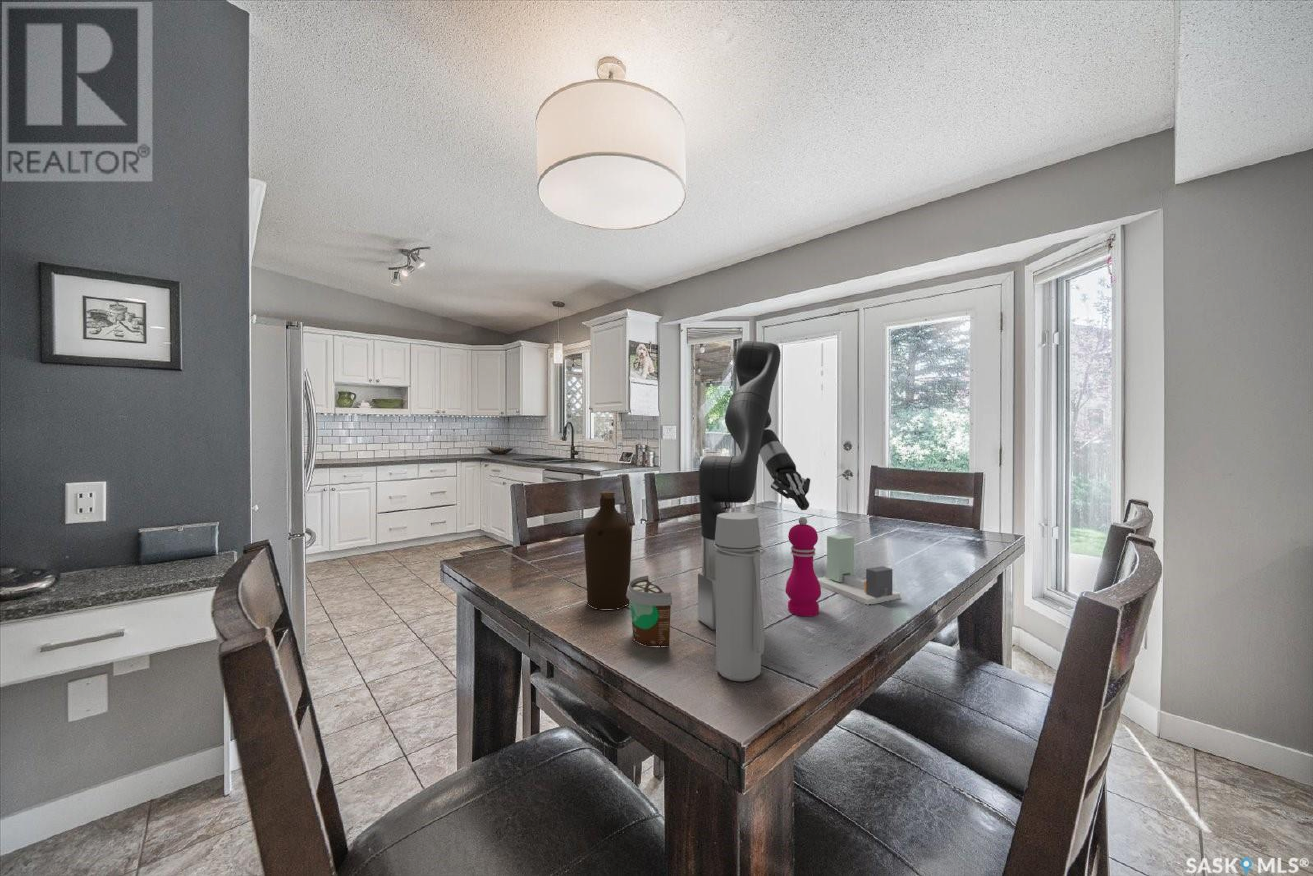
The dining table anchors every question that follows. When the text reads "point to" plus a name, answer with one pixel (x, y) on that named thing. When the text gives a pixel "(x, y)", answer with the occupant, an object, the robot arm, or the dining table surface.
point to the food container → (649, 612)
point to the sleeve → (840, 556)
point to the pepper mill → (803, 571)
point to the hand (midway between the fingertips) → (805, 508)
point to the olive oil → (607, 556)
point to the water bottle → (738, 596)
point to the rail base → (864, 586)
